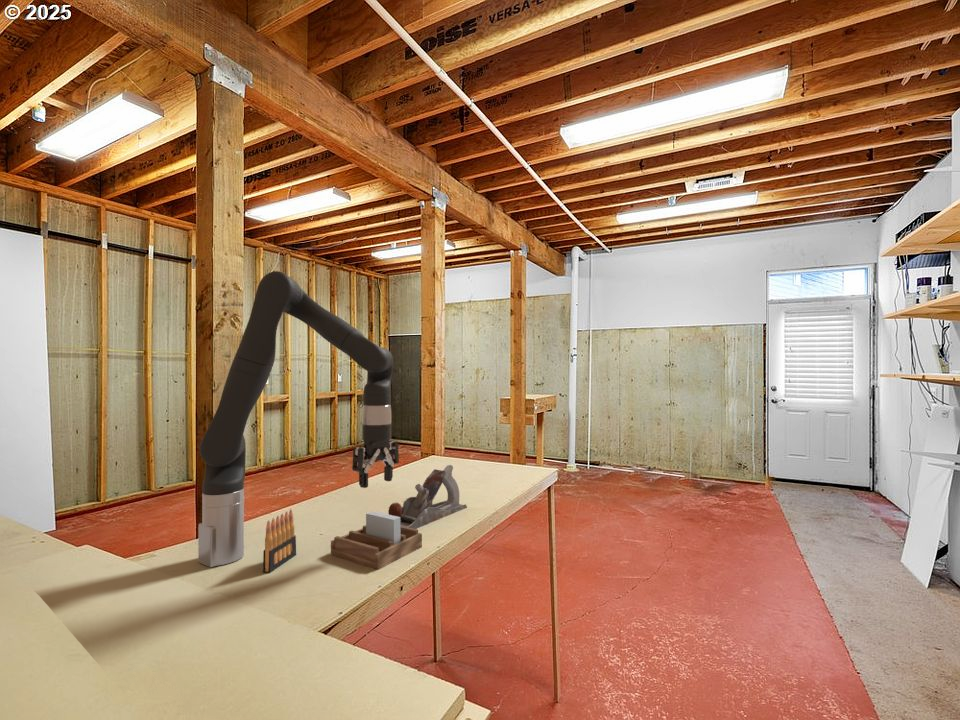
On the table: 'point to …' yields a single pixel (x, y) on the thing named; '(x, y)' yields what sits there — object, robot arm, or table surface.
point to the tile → (383, 526)
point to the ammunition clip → (279, 542)
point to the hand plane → (429, 501)
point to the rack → (375, 547)
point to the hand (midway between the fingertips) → (376, 484)
